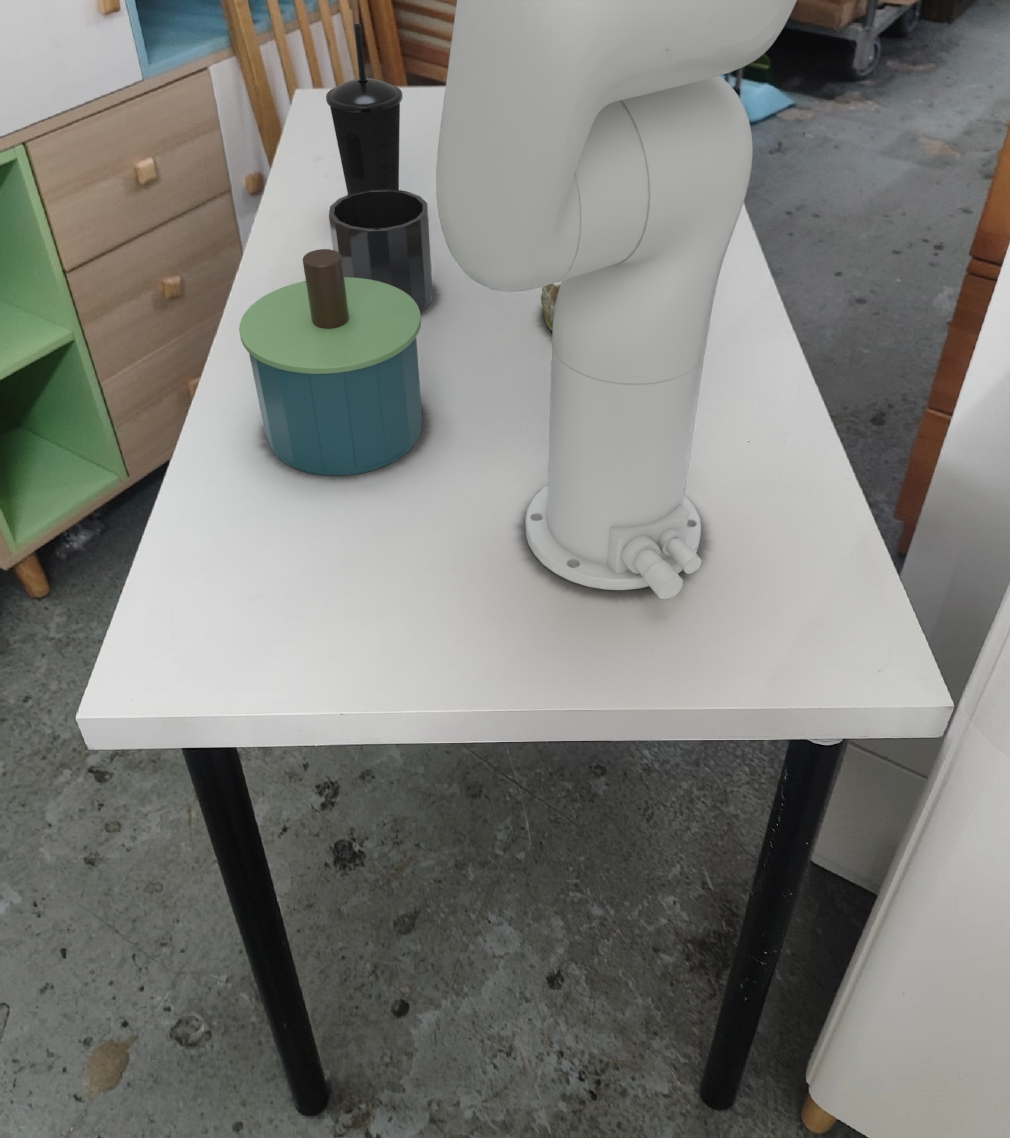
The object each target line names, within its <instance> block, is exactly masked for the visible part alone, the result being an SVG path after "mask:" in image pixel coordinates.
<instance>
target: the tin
mask: <svg viewBox="0 0 1010 1138" xmlns="http://www.w3.org/2000/svg"><path fill="white" fill-rule="evenodd" d="M248 355H249V360H250V364H251V370H252V375H253V380H254V384H255V390H256V394H257V400H258V404H259V409H260V414H261V420H262V423H263V428H264V429H263V430H264V433H265V434H264V435H265V437H266V439H267V443H268V445H269V447H270V449H271V451H272V452H273V454H274V455H275V456H276V457H277V458H278V459H279V460H280V461H282V462H283V463H284V464H286V465H288V466H290V467H292V468H294V469H296V470H299V471H301V472H305V473H308V474H313V475H320V476H331V477H332V476H351V475H357V474H364V473H367V472H368V473H369V472H372V471H375V470H378V469H381V468H383V467H386V466H388V465H390V464H392V463H394V462H396V461H398V460H399V459H402V457H403V456H405V455H406V454H408V453H409V452H410V451H411V450H412V449H413V448H414V447H415V445H416V444H417V442H418V440H419V439H420V437H421V435H422V434H421V433H422V431H423V410H422V409H423V408H422V397H421V383H420V369H419V357H418V356H419V355H418V340H417V337H416V338H415V339H414V340H413V341H412V343H411V344H410V345H409V346H408V347H406V348H405V349H404V350H403V351H401V352H400V353H398V354H396V355H395V356H393V357H391V358H389V359H387V360H385V361H383V362H380V363H378V364H375V365H372V366H369V367H365V368H362V369H357V370H353V371H347V372H340V373H328V374H309V373H298V372H291V371H286V370H282V369H278V368H275V367H272V366H269V365H267V364H265V363H263V362H261V361H259V360H258V359H256V358H254V357H253V356H252V355H251V354H250V353H249V352H248Z"/></svg>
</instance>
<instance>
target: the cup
mask: <svg viewBox="0 0 1010 1138" xmlns="http://www.w3.org/2000/svg"><path fill="white" fill-rule="evenodd" d="M328 219H329V228H330V234H331V235H330V236H331V243H332V244H331V245H332V250H335V251H337V252H339V253H340V254H341V256H342V264H343V272H344V277H351V278H363V279H370V280H374V281H379V282H382V283H386V284H389V285H391V286H394V287H396V288H398V289H400V290H402V291H404V292H405V293H406V294H408V295H409V296H410V297H411V298H412V299H413V300H414V301H415V302H416V304H417V305H418V308H419V310H420V313H422V312H423V311H425V310H426V309H427V308H428V307H429V306H430V305H431V303H432V302H433V298H434V293H433V292H434V291H433V290H434V289H433V272H432V255H431V237H430V220H429V203H428V202H427V201H425V199H424V198H422V196H420V195H417V194H415V193H413V192H410V191H408V190H401V189H399V190H395V189H370V190H365V191H360V192H354V193H351V194H349V195H348V194H346V195H345V196H344V195H343V196H342V197H339V198H338V199H336V200H335V202H333V204H331V205H330V206H329V211H328Z"/></svg>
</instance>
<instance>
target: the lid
mask: <svg viewBox="0 0 1010 1138" xmlns="http://www.w3.org/2000/svg"><path fill="white" fill-rule="evenodd" d="M302 265H303V272H304V278H305V279H304V281H300V282H295V283H291V284H289V285H286V286H283V287H280V288H278V289H275V290H272V291H271V292H269V293H267V294H265V295H264V296H262V297H260V298H259V299H258V300H256V301H255V302H254V303H253V304H252V305H250V306H249V308H247V310H246V311H245V312H244V313H243V315H242V317H241V320H240V323H239V327H238V328H239V329H238V330H239V331H238V332H239V337H240V341H241V344H242V346H243V347H244V349H245V350H246V351H247V353H248V354H249V353H250V354H251V355H252V356H253V357H254V358H256V359H258V360H259V361H261V362H263V363H265V364H267V365H269V366H272V367H275V368H278V369H282V370H286V371H291V372H298V373H309V374H328V373H340V372H347V371H353V370H357V369H362V368H365V367H369V366H372V365H375V364H378V363H380V362H383V361H385V360H387V359H389V358H391V357H393V356H395V355H396V354H398V353H400V352H401V351H403V350H404V349H405V348H406V347H408V346H409V345H410V344H411V343H412V341H413V340H414V339H415V338H416V339H417V336H418V335H419V332H420V329H421V326H422V325H421V324H422V316H421V312H420V310H419V308H418V305H417V304H416V302H415V301H414V300H413V299H412V298H411V297H410V296H409V295H408V294H406V293H405V292H404V291H402V290H400V289H398V288H396V287H394V286H391V285H389V284H386V283H382V282H379V281H374V280H370V279H363V278H351V277H344V272H343V264H342V256H341V254H340V253H339V252H337V251H335V250H333V249H329V248H321V249H320V248H319V249H315V250H311V251H309V252H307V253H305V254H304V255H303V257H302Z"/></svg>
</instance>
